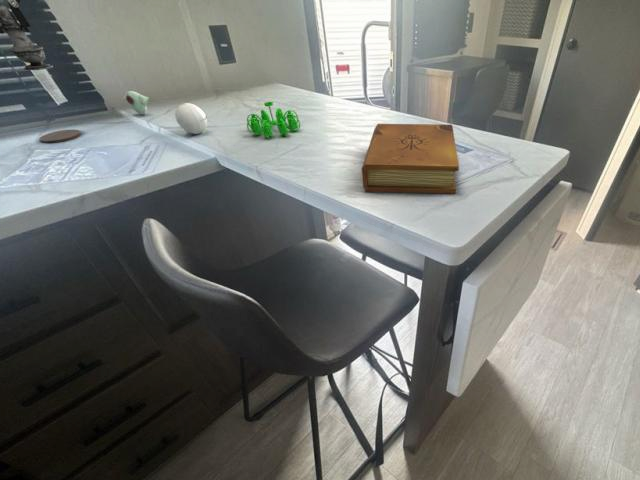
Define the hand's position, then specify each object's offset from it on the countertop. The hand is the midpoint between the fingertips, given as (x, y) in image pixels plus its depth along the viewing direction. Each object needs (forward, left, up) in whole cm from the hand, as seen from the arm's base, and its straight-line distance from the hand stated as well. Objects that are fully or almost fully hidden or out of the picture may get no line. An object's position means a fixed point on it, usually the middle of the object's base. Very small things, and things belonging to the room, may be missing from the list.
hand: (14, 31), depth 69 cm
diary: (+81, -40, -23) cm, 93 cm away
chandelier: (+50, -6, -23) cm, 55 cm away
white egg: (+29, -1, -23) cm, 37 cm away
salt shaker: (0, 0, -7) cm, 7 cm away
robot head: (+8, +20, -23) cm, 31 cm away
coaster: (-8, +4, -23) cm, 24 cm away
